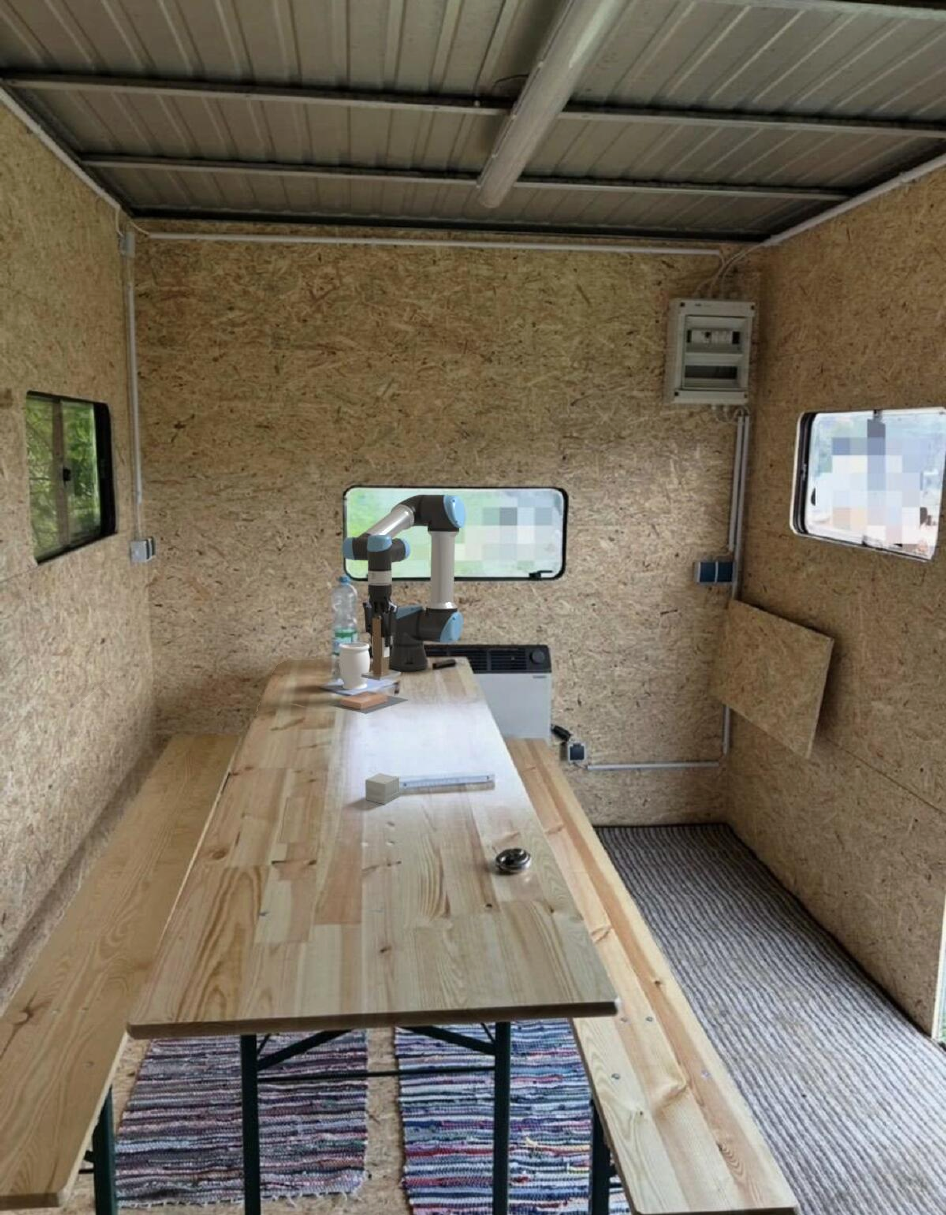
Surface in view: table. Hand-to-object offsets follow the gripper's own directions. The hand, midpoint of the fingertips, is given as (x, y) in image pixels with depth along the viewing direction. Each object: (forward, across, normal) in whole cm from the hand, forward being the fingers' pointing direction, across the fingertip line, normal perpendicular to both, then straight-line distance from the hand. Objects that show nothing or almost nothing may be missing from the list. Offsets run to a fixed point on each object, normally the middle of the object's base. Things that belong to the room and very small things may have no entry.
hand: (380, 655), depth 279 cm
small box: (+15, +58, -63) cm, 87 cm away
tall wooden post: (+7, 0, 0) cm, 7 cm away
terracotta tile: (+13, 0, -2) cm, 13 cm away
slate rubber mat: (+14, 0, -6) cm, 16 cm away
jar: (+15, -18, +6) cm, 24 cm away
